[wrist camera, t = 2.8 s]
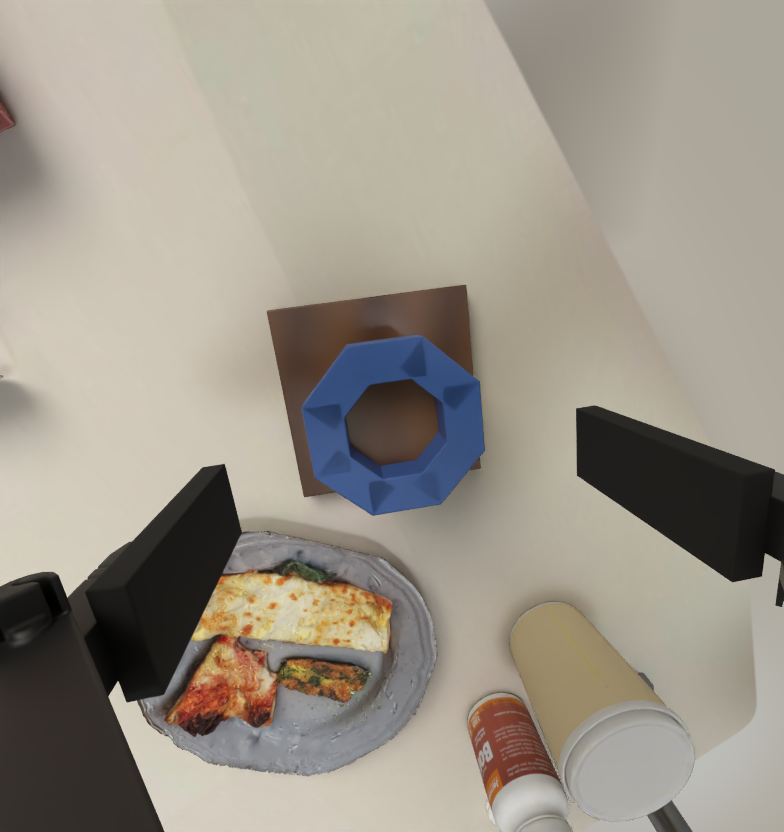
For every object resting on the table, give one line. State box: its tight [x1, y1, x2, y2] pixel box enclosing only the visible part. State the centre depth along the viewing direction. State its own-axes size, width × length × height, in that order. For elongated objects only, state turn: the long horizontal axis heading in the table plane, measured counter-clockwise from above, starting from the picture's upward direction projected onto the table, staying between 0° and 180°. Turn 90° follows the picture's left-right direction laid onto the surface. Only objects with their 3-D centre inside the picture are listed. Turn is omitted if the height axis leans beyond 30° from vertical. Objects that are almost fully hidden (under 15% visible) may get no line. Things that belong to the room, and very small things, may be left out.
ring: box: [302, 335, 485, 516], centre depth 21 cm, size 9×9×2 cm
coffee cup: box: [510, 602, 695, 822], centre depth 32 cm, size 9×9×12 cm
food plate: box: [137, 531, 438, 776], centre depth 34 cm, size 25×23×4 cm
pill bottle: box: [467, 693, 573, 832], centre depth 35 cm, size 6×6×11 cm
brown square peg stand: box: [267, 285, 481, 497], centre depth 27 cm, size 14×14×9 cm
